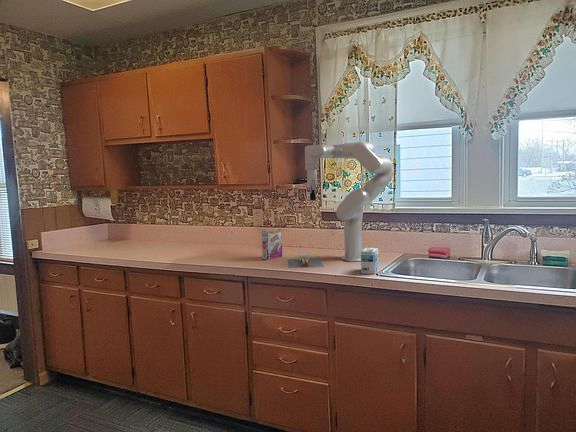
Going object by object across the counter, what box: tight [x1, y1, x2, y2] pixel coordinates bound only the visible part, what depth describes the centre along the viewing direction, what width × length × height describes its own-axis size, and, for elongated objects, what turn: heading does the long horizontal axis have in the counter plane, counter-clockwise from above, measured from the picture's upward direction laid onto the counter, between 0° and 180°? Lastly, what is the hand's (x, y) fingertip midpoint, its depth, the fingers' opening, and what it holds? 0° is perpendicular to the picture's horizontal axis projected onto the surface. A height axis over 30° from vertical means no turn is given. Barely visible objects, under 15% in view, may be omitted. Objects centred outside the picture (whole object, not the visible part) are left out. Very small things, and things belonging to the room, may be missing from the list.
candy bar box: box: [261, 228, 283, 261], centre depth 255 cm, size 11×5×16 cm, turn 132°
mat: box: [286, 257, 325, 269], centre depth 240 cm, size 18×23×1 cm
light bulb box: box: [360, 247, 380, 275], centre depth 217 cm, size 11×7×11 cm, turn 159°
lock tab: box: [298, 253, 310, 261], centre depth 245 cm, size 5×5×3 cm
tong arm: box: [301, 257, 307, 268], centre depth 236 cm, size 16×1×2 cm, turn 1°
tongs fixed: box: [304, 257, 310, 268], centre depth 238 cm, size 19×3×2 cm, turn 2°
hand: (312, 200), depth 257 cm, fingers closed
